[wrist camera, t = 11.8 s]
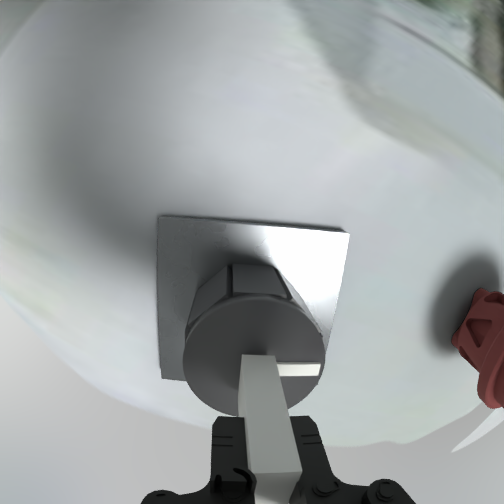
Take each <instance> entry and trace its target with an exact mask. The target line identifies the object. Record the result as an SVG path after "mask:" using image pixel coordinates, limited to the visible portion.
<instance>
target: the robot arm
mask: <svg viewBox="0 0 504 504" xmlns="http://www.w3.org/2000/svg"><path fill="white" fill-rule="evenodd" d="M238 412H239V417H224V416H218V417H217V419H216V421H215V422H214V424H213V425H212V450H211V476H210V481H209V483H208V484H207V485H206V486H205V487H204V488H203V489H201V490H199V491H197V492H194V493H189V494H183V495H178V494H176V493H174V492H172V491H167V490H158V491H153V492H151V493H149V494H147V496H146V497H145V498H144V499H143V501H142V502H141V504H416V503H415V502H414V501H413V500H412V499H411V497H410V496H409V495H408V494H407V493H406V492H405V491H404V489H403V488H402V487H401V486H400V485H399V484H398V483H397V482H395V481H393V480H390V479H380V480H376V481H374V482H373V483H372V484H370V486H359V485H350V484H346V483H343V482H341V481H340V480H339V479H338V478H336V477H335V476H334V475H333V473H332V471H331V467H330V464H329V461H328V458H327V455H326V452H325V449H324V446H323V444H322V440H321V437H320V435H319V431H318V428H317V425H316V423H315V422H314V421H313V420H312V419H311V418H310V417H309V416H289V413H288V409H287V405H286V400H285V396H284V392H283V388H282V384H281V379H280V375H279V371H278V367H277V363H276V359H275V356H271V355H243V354H242V360H241V370H240V381H239V391H238Z"/></svg>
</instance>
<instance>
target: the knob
mask: <svg viewBox="0 0 504 504" xmlns="http://www.w3.org/2000/svg"><path fill="white" fill-rule="evenodd" d="M321 332H322V331H321V329H320V327H319V325H318V324H317V322H316V320H315V319H314V317H313V315H312V314H311V312H310V310H309V309H308V307H307V305H306V304H305V302H304V300H303V299H302V297H301V296H300V295H299V293H298V292H297V291H296V290H295V289H294V287H293V286H292V285H291V284H290V283H289V282H288V280H287V279H286V278H285V277H284V276H283V274H282V273H281V272H280V271H279V270H278V269H277V270H276V271H275V270H274V268H273V266H261V265H247V264H233V265H232V270H231V269H230V268H229V267H228V266H226V267H224V268H223V269H222V270H221V271H220V272H218V273H217V274H216V275H215V276H214V277H212V278H211V279H210V280H209V281H208V282H206V283H205V284H204V285H203V286H202V287H200V288H199V289H198V290H197V293H196V295H195V297H194V300H193V304H192V307H191V311H190V314H189V318H188V321H187V325H186V328H185V348H184V352H183V361H182V363H183V371H184V375H185V378H186V381H187V383H188V385H189V387H190V388H191V390H192V391H193V392H194V394H195V395H196V396H197V397H198V398H199V399H200V400H201V401H202V402H204V403H205V404H207V405H208V406H209V407H211V408H213V409H215V410H217V411H219V412H222V413H225V414H228V415H232V416H237V417H239V412H238V391H239V381H240V370H241V360H242V354H243V355H271V356H275V359H276V363H277V367H278V371H279V375H280V379H281V384H282V388H283V392H284V396H285V400H286V405H287V409H289V408H291V407H293V406H294V405H296V404H297V403H299V402H300V401H302V400H303V399H304V398H305V397H306V396H307V395H308V394H309V393H310V392H311V391H312V390H313V389H314V387H315V386H316V384H317V383H318V381H319V379H320V377H321V375H322V372H323V369H324V364H325V348H324V343H323V336H322V334H321Z"/></svg>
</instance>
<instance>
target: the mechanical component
mask: <svg viewBox="0 0 504 504" xmlns="http://www.w3.org/2000/svg"><path fill="white" fill-rule="evenodd" d="M451 342H452V344H453V345H454V346H455V347H456V348H457V349H458V350H459V353H460V355H461V356H462V357H463V358H464V359H466V360H467V361H468V362H469V363H470V364H471V365H472V366H473V367H474V368H475V369H476V370H477V371H478V372H479V373H480V374H479V379H478V385H477V392H478V396H479V398H480V399H481V400H482V401H483V402H484V403H485V404H486V405H487V407H489V408H492V409H495V408H500V407H503V408H504V294H502V293H500V292H496V291H494V292H488V291H486V290H485V289H483V288H480V289H478V290H477V291H476V292H475V294H474V297H473V301H472V304H471V307H470V310H469V312H468V314H467V316H466V318H465V320H464V321H463V323H462V324H461V326H460V327H459V329H458V330H457V331H456V332H455V333H454V335H453V337H452V341H451Z"/></svg>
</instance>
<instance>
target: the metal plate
mask: <svg viewBox="0 0 504 504" xmlns="http://www.w3.org/2000/svg"><path fill="white" fill-rule="evenodd" d="M348 239H349V233H347V232H345V231H342V230H332V229H322V228H311V227H301V226H290V225H278V224H267V223H255V222H242V221H229V220H216V219H202V218H187V217H171V216H161V217H159V218H158V246H157V294H158V327H159V347H160V363H161V376H162V379H170V380H179V381H186V378H185V375H184V371H183V363H182V361H183V352H184V348H185V328H186V325H187V321H188V318H189V314H190V311H191V307H192V304H193V300H194V297H195V295H196V293H197V290H198V289H199V288H200V287H202V286H203V285H204V284H205V283H206V282H208V281H209V280H210V279H211V278H212V277H214V276H215V275H216V274H217V273H218V272H220V271H221V270H222V269H223V268H224V267H226V266H228V267H229V268H230V269H231V270H232V265H233V264H247V265H261V266H273V268H274V270H275V271H276V270H277V269H278V270H279V271H280V272H281V273H282V274H283V276H284V277H285V278H286V279H287V280H288V282H289V283H290V284H291V285H292V286H293V287H294V289H295V290H296V291H297V292H298V293H299V295H300V296H301V297H302V299H303V300H304V302H305V304H306V305H307V307H308V309H309V310H310V312H311V314H312V315H313V317H314V319H315V320H316V322H317V324H318V325H319V327H320V329H321V331H322V332H321V334H322V336H323V343H324V348H325V354H326V350H327V346H328V342H329V337H330V333H331V329H332V324H333V320H334V315H335V310H336V305H337V301H338V296H339V290H340V285H341V280H342V275H343V269H344V263H345V258H346V252H347V246H348ZM316 385H318V383H317V384H316Z"/></svg>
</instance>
